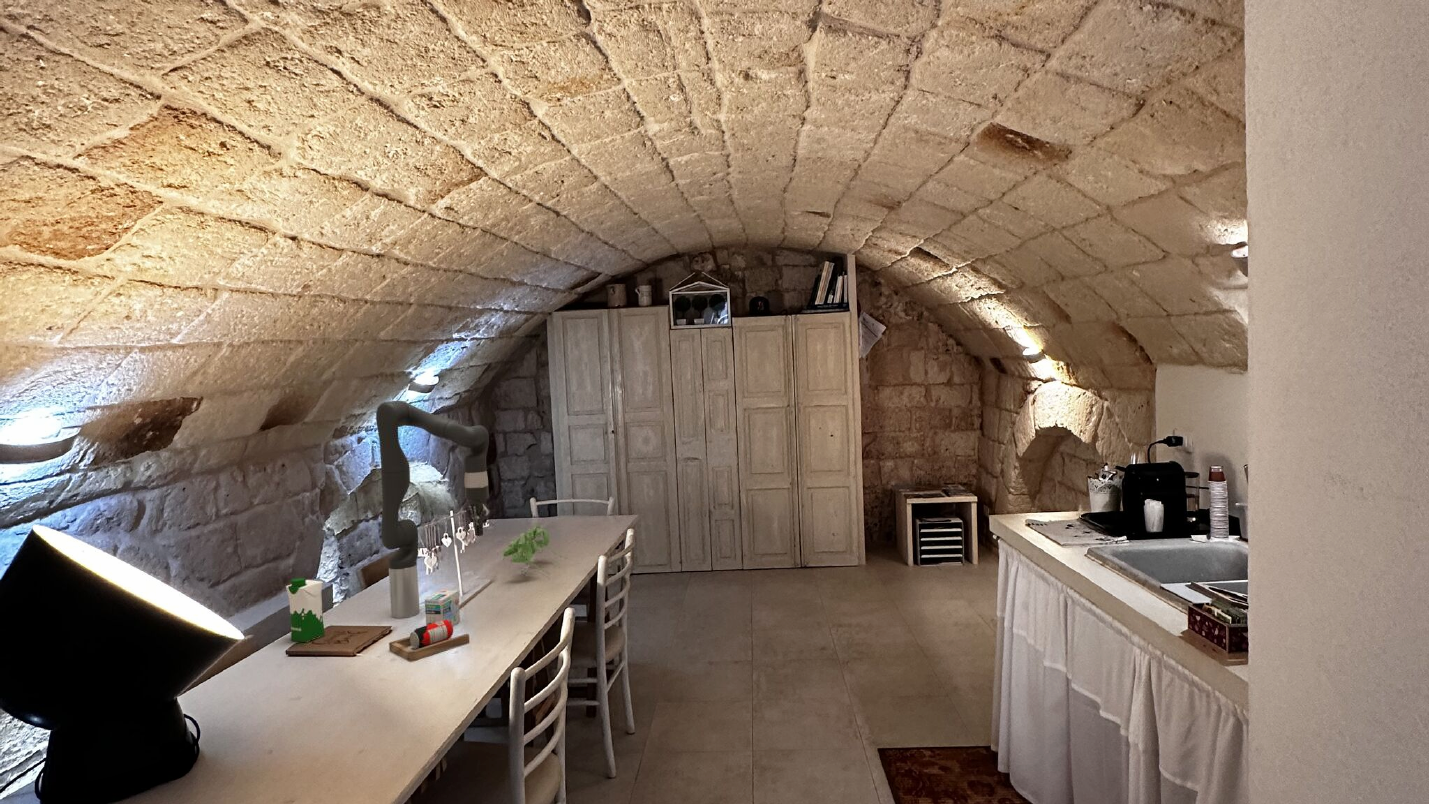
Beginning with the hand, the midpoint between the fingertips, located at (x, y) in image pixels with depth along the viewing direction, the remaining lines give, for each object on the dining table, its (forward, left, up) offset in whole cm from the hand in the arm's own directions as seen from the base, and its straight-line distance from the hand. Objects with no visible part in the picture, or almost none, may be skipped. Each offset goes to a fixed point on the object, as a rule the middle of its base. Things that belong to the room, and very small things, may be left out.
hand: (479, 535), depth 260 cm
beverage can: (+7, -16, -26) cm, 31 cm away
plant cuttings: (-33, +44, -29) cm, 62 cm away
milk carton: (-31, -45, -29) cm, 62 cm away
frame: (+9, -24, -29) cm, 39 cm away
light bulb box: (-5, -12, -29) cm, 32 cm away
